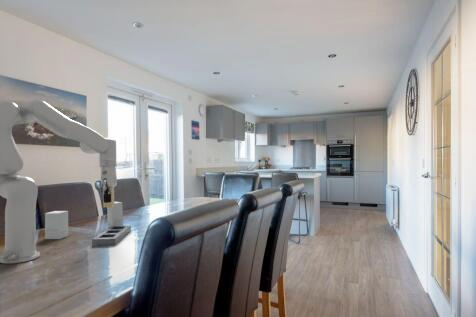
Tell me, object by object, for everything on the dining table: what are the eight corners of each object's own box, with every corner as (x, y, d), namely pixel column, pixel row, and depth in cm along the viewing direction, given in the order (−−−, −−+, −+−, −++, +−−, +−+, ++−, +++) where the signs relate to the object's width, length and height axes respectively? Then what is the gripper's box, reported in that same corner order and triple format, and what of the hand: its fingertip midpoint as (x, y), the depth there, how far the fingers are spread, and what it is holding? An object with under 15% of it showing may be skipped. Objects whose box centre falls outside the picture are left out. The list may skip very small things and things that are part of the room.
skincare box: (123, 229, 165) (123, 202, 165) (112, 231, 161) (112, 203, 161) (117, 227, 171) (117, 200, 171) (106, 228, 167) (106, 201, 167)
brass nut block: (111, 207, 143) (111, 188, 143) (103, 207, 143) (102, 188, 143) (114, 205, 147) (114, 187, 147) (105, 206, 147) (105, 187, 147)
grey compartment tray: (115, 245, 133) (115, 238, 133) (91, 246, 132) (91, 239, 132) (130, 231, 161) (130, 225, 161) (111, 231, 160) (111, 225, 160)
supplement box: (68, 235, 151) (69, 210, 151) (58, 239, 144) (58, 213, 144) (55, 235, 152) (55, 210, 152) (44, 239, 144) (44, 213, 144)
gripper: (110, 164, 137) (111, 204, 137) (120, 163, 154) (121, 199, 154) (93, 164, 136) (94, 204, 136) (105, 163, 153) (106, 199, 153)
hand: (108, 201), depth 145 cm, fingers closed on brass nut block, 4 cm apart
